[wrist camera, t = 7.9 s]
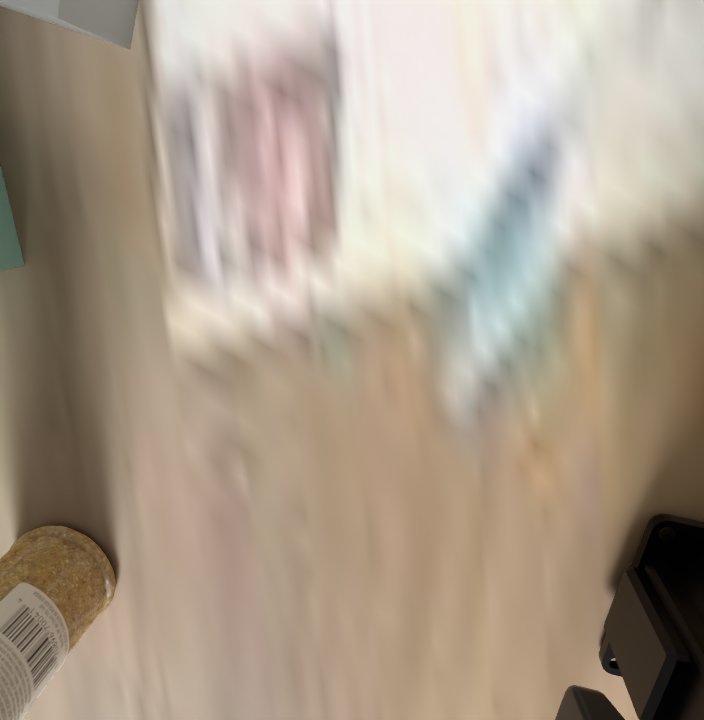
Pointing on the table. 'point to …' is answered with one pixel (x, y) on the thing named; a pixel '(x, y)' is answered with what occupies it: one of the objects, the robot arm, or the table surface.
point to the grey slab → (84, 16)
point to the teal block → (8, 233)
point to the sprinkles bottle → (46, 609)
